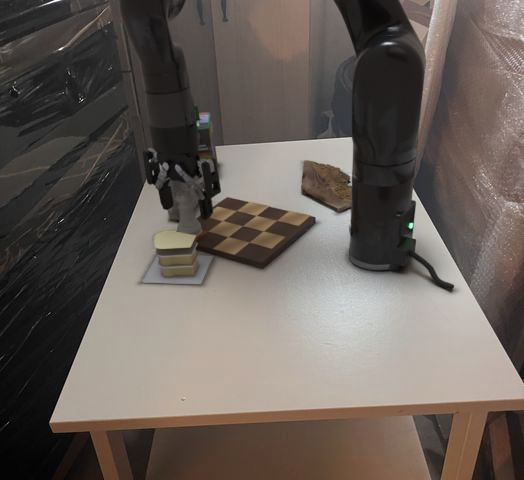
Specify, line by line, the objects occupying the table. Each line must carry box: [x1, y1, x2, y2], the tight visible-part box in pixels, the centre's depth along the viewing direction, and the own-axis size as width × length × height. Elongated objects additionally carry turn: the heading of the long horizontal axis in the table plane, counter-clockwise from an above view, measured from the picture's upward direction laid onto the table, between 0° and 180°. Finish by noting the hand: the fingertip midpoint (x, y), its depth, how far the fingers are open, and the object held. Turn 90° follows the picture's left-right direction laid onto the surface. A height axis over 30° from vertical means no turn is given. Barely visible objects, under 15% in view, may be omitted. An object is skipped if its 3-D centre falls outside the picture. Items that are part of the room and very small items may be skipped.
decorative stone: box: [167, 176, 204, 221], centre depth 111 cm, size 11×6×15 cm, turn 168°
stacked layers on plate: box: [141, 230, 214, 285], centre depth 96 cm, size 10×9×6 cm
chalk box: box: [194, 104, 219, 169], centre depth 125 cm, size 9×9×15 cm
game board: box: [175, 196, 317, 270], centre depth 106 cm, size 20×18×1 cm
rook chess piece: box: [175, 189, 202, 238], centre depth 102 cm, size 4×4×8 cm
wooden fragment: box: [300, 159, 352, 214], centre depth 120 cm, size 26×11×1 cm, turn 9°
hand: (187, 212), depth 102 cm, fingers open, 8 cm apart
